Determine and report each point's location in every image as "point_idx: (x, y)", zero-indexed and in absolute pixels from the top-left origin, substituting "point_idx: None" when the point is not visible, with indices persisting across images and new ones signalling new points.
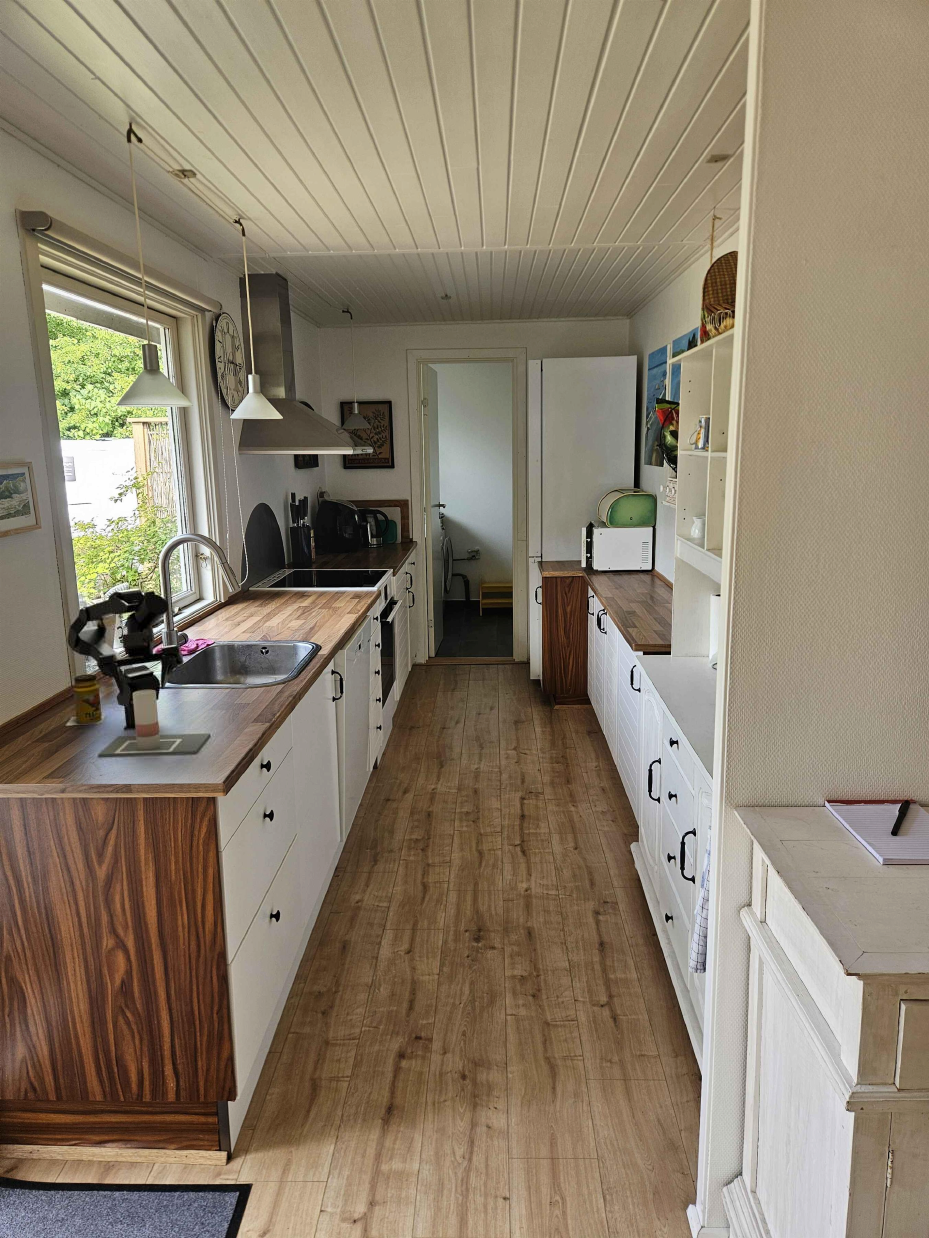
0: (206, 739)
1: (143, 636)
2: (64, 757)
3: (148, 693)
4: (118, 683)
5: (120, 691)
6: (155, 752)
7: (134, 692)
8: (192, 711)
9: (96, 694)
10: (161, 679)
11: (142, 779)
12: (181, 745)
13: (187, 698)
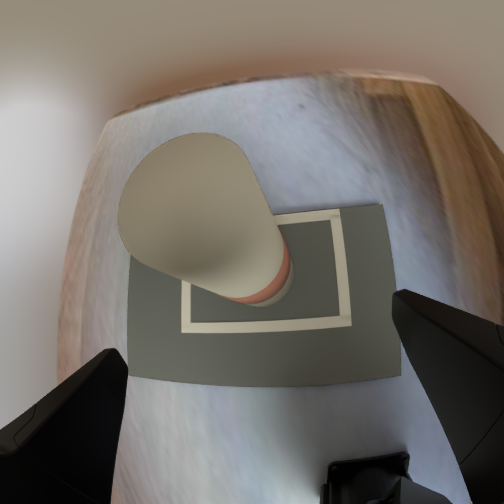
0: (129, 336)
1: None
2: (459, 206)
3: (148, 175)
4: (459, 320)
5: (409, 293)
6: None
7: (245, 186)
8: None
9: None
10: (80, 377)
11: (211, 101)
12: (170, 277)
13: None
